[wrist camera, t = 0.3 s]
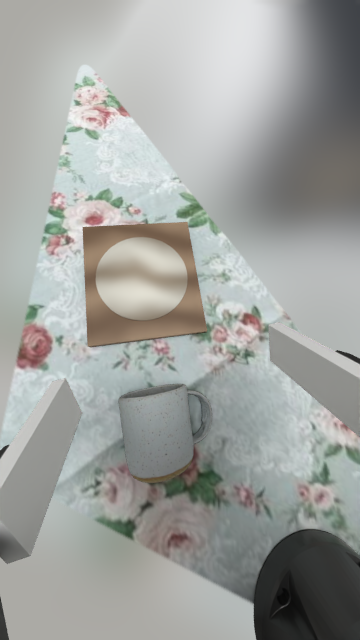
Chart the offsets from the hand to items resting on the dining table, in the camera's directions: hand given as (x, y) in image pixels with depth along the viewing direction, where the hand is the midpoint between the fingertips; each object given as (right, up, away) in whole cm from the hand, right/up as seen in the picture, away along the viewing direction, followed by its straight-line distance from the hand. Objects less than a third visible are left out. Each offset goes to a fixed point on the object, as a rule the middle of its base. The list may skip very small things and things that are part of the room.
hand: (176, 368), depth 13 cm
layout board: (-5, +9, +18) cm, 20 cm away
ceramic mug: (-1, -9, +14) cm, 16 cm away
